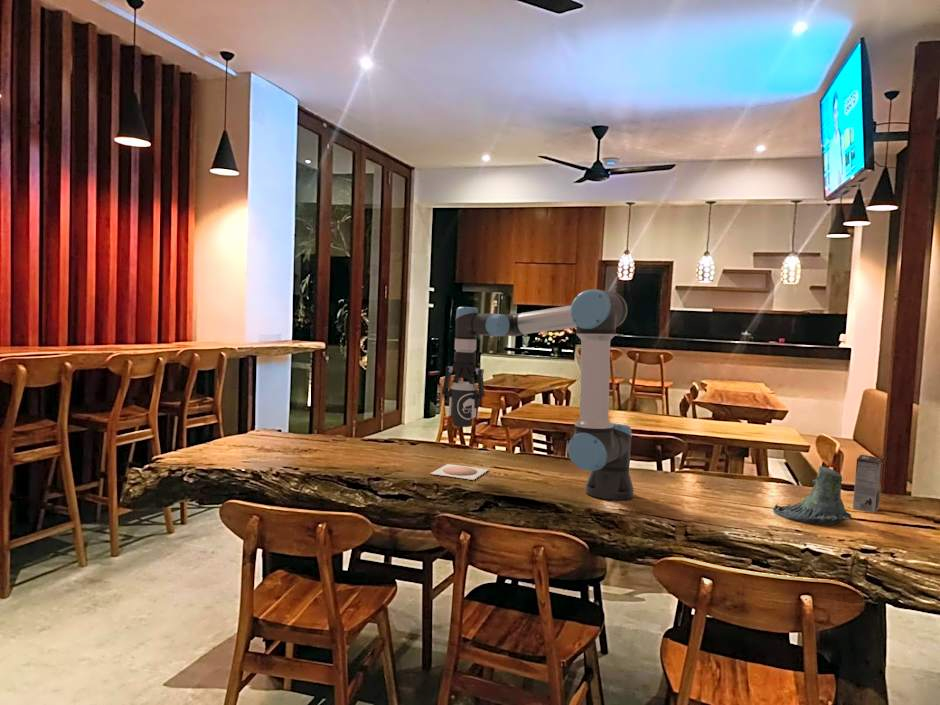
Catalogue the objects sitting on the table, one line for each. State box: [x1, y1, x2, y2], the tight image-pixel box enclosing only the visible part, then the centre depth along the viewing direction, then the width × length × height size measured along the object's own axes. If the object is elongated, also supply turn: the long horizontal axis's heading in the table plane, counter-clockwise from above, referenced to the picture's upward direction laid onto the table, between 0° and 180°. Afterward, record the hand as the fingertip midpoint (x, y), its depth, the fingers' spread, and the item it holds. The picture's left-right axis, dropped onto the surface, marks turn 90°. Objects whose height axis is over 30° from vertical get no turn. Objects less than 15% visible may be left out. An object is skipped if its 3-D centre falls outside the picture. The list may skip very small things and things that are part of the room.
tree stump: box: [773, 466, 853, 526], centre depth 188 cm, size 18×20×18 cm
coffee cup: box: [449, 381, 479, 428], centre depth 222 cm, size 10×10×15 cm
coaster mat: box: [429, 463, 490, 482], centre depth 223 cm, size 16×16×1 cm
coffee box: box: [852, 454, 884, 514], centre depth 201 cm, size 9×6×16 cm
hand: (462, 416), depth 222 cm, fingers closed on coffee cup, 8 cm apart
